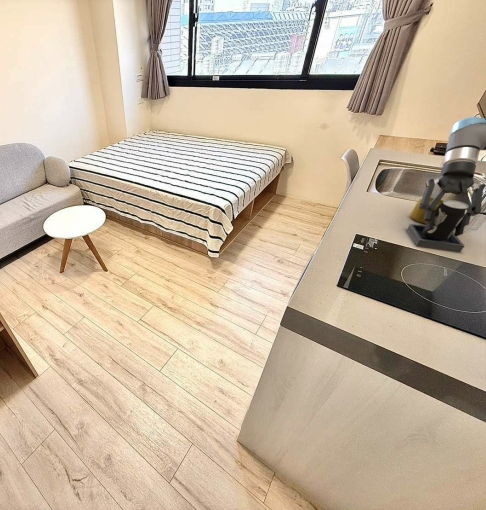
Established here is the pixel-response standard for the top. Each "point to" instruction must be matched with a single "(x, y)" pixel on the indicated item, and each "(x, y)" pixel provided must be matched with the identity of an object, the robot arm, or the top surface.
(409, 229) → the dark grey tray
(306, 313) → the top surface
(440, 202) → the mug
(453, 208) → the beverage can
